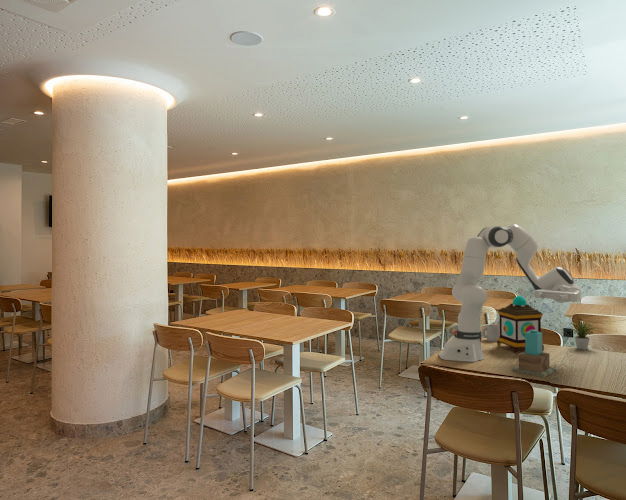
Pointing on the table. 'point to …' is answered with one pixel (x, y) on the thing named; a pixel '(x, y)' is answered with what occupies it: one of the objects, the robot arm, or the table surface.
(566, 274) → the robot arm
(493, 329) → the cup
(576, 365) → the table surface
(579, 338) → the house plant
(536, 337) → the teal brick
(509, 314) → the decorative lantern
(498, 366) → the table surface
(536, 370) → the tower base
